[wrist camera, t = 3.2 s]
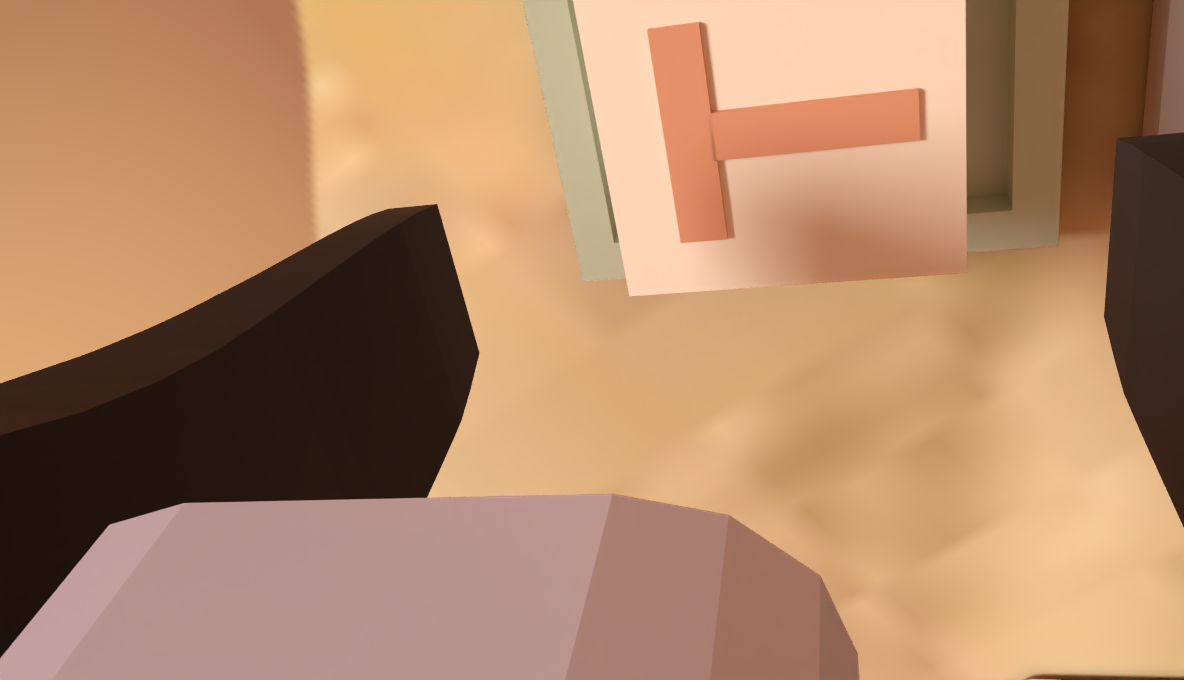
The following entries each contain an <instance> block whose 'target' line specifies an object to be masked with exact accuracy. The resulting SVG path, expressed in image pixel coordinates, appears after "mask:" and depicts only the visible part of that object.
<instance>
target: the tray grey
mask: <svg viewBox="0 0 1184 680" xmlns="http://www.w3.org/2000/svg"><path fill="white" fill-rule="evenodd" d="M1182 132H1184V0H1153V11H1152V23H1151V35H1150V47H1149V59H1148V71H1147V83H1146V95H1145V106H1144V118H1143V130H1142V136H1151V135H1161V134H1171V133H1182Z"/></svg>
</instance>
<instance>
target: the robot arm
mask: <svg viewBox="0 0 1184 680" xmlns="http://www.w3.org/2000/svg"><path fill="white" fill-rule="evenodd" d="M1104 318H1105V322H1106V326H1107V331H1108V335H1109V339H1110V343H1111V347H1112V351H1113V355H1114V359H1115V363H1116V366H1117V370H1118V373H1119V377H1120V381H1121V384H1122V388H1123V392H1124V394H1125V397H1126V399H1127V402H1128V404H1129V406H1130V409H1131V411H1132V413H1133V415H1134V418H1135V420H1136V422H1137V425H1138V427H1139V429H1140V431H1141V434H1142V436H1143V438H1144V440H1145V443H1146V445H1147V447H1148V449H1149V452H1150V454H1151V456H1152V458H1153V461H1154V463H1155V465H1156V467H1157V469H1158V472H1159V474H1160V476H1161V478H1162V480H1163V483H1164V485H1165V487H1166V489H1167V491H1168V494H1169V496H1170V498H1171V500H1172V503H1173V505H1174V507H1175V509H1176V511H1177V514H1178V516H1179V518H1180V520H1181V522H1182V525H1183V527H1184V132H1182V133H1171V134H1161V135H1151V136H1140V137H1130V138H1119V139H1117V145H1116V159H1115V173H1114V187H1113V200H1112V214H1111V228H1110V242H1109V256H1108V270H1107V284H1106V298H1105V312H1104ZM478 356H479V350H478V347H477V343H476V340H475V336H474V332H473V329H472V325H471V322H470V318H469V315H468V311H467V308H466V304H465V301H464V297H463V294H462V290H461V287H460V283H459V280H458V276H457V273H456V269H455V266H454V262H453V259H452V255H451V252H450V248H449V244H448V241H447V237H446V234H445V230H444V227H443V223H442V220H441V216H440V213H439V209H438V206H437V204H435V205H424V206H414V207H403V208H393V209H387V210H384V211H381V212H378V213H374V214H372V215H369V216H367V217H365V218H362V219H360V220H358V221H356V222H354V223H352V224H350V225H348V226H346V227H343V228H342V229H340V230H338V231H336V232H334V233H332V234H330V235H328V236H326V237H324V238H323V239H321V240H319V241H317V242H315V243H313V244H311V245H310V246H308V247H306V248H304V249H303V250H301V251H299V252H297V253H295V254H293V255H292V256H290V257H288V258H286V259H284V260H282V261H281V262H279V263H277V264H275V265H273V266H272V267H270V268H268V269H266V270H264V271H262V272H261V273H259V274H257V275H255V276H253V277H251V278H250V279H247V280H246V281H244V282H242V283H240V284H238V285H236V286H234V287H232V288H230V289H228V290H226V291H224V292H222V293H221V294H218V295H216V296H214V297H212V298H211V299H209V300H207V301H205V302H203V303H201V304H199V305H197V306H195V307H193V308H191V309H189V310H187V311H185V312H183V313H181V314H179V315H177V316H175V317H173V318H171V319H168V320H166V321H164V322H162V323H160V324H158V325H155V326H153V327H151V328H149V329H146V330H144V331H142V332H139V333H137V334H135V335H132V336H130V337H127V338H125V339H122V340H120V341H118V342H115V343H113V344H110V345H108V346H106V347H103V348H101V349H98V350H96V351H93V352H91V353H88V354H85V355H83V356H80V357H77V358H74V359H71V360H68V361H66V362H62V363H59V364H56V365H53V366H50V367H48V368H45V369H42V370H39V371H36V372H33V373H30V374H27V375H24V376H21V377H18V378H15V379H12V380H9V381H6V382H3V383H0V680H860V678H859V666H858V654H857V651H856V649H855V647H854V645H853V643H852V641H851V639H850V637H849V635H848V633H847V631H846V628H845V626H844V624H843V622H842V620H841V618H840V616H839V614H838V612H837V610H836V608H835V605H834V603H833V601H832V599H831V597H830V595H829V593H828V591H827V589H826V587H825V584H824V582H823V580H822V578H821V576H820V575H819V574H817V573H816V572H814V571H813V570H811V569H810V568H808V567H806V566H805V565H803V564H802V563H800V562H799V561H797V560H796V559H794V558H793V557H791V556H790V555H788V554H787V553H785V552H784V551H782V550H781V549H779V548H778V547H776V546H775V545H773V544H772V543H770V542H769V541H767V540H766V539H764V538H763V537H761V536H760V535H758V534H757V533H755V532H754V531H752V530H751V529H749V528H748V527H746V526H745V525H743V524H742V523H740V522H739V521H737V520H736V519H734V518H733V517H731V516H730V515H726V514H721V513H715V512H710V511H704V510H699V509H693V508H688V507H682V506H677V505H671V504H666V503H660V502H655V501H649V500H644V499H638V498H633V497H627V496H622V495H616V494H582V495H536V496H489V497H443V498H427V496H428V494H429V492H430V490H431V488H432V485H433V483H434V481H435V479H436V477H437V475H438V472H439V470H440V468H441V466H442V463H443V461H444V459H445V457H446V454H447V452H448V450H449V448H450V446H451V443H452V441H453V439H454V437H455V434H456V432H457V429H458V427H459V425H460V422H461V420H462V417H463V413H464V410H465V406H466V403H467V399H468V396H469V393H470V389H471V385H472V381H473V377H474V373H475V368H476V364H477V360H478ZM1027 680H1059V679H1027Z"/></svg>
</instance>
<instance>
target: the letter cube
mask: <svg viewBox="0 0 1184 680" xmlns="http://www.w3.org/2000/svg"><path fill="white" fill-rule="evenodd" d="M573 4H574V9H575V14H576V19H577V25H578V30H579V35H580V40H581V46H582V51H583V56H584V61H585V66H586V72H587V77H588V82H589V87H590V93H591V98H592V103H593V108H594V113H595V119H596V124H597V129H598V134H599V140H600V145H601V150H602V155H603V160H604V166H605V171H606V176H607V181H608V187H609V192H610V197H611V202H612V207H613V213H614V218H615V223H616V228H617V233H618V239H619V244H620V249H621V254H622V260H623V265H624V270H625V275H626V280H627V286H628V291H629V296H639V295H654V294H668V293H683V292H697V291H711V290H726V289H740V288H755V287H769V286H784V285H798V284H813V283H827V282H841V281H856V280H870V279H885V278H899V277H914V276H928V275H942V274H957V273H967V194H966V0H573Z"/></svg>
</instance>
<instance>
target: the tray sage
mask: <svg viewBox="0 0 1184 680" xmlns="http://www.w3.org/2000/svg"><path fill="white" fill-rule="evenodd" d="M522 2H523V6H524V11H525V15H526V20H527V25H528V29H529V34H530V39H531V43H532V48H533V53H534V57H535V62H536V66H537V71H538V76H539V80H540V85H541V90H542V94H543V99H544V104H545V108H546V113H547V117H548V122H549V127H550V131H551V136H552V141H553V145H554V150H555V155H556V159H557V164H558V168H559V173H560V178H561V182H562V187H563V192H564V196H565V201H566V206H567V210H568V215H569V220H570V224H571V229H572V233H573V238H574V243H575V247H576V252H577V257H578V261H579V266H580V271H581V275H582V280H583V281H592V280H606V279H619V278H626V275H625V270H624V265H623V260H622V254H621V249H620V244H619V239H618V233H617V228H616V223H615V218H614V213H613V207H612V202H611V197H610V192H609V187H608V181H607V176H606V171H605V166H604V160H603V155H602V150H601V145H600V140H599V134H598V129H597V124H596V119H595V113H594V108H593V103H592V98H591V93H590V87H589V82H588V77H587V72H586V66H585V61H584V56H583V51H582V46H581V40H580V35H579V30H578V25H577V19H576V14H575V9H574V4H573V0H522ZM1068 14H1069V0H966V194H967V253H972V252H985V251H999V250H1013V249H1026V248H1040V247H1053V246H1058V240H1059V217H1060V195H1061V172H1062V150H1063V127H1064V104H1065V82H1066V59H1067V36H1068Z"/></svg>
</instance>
